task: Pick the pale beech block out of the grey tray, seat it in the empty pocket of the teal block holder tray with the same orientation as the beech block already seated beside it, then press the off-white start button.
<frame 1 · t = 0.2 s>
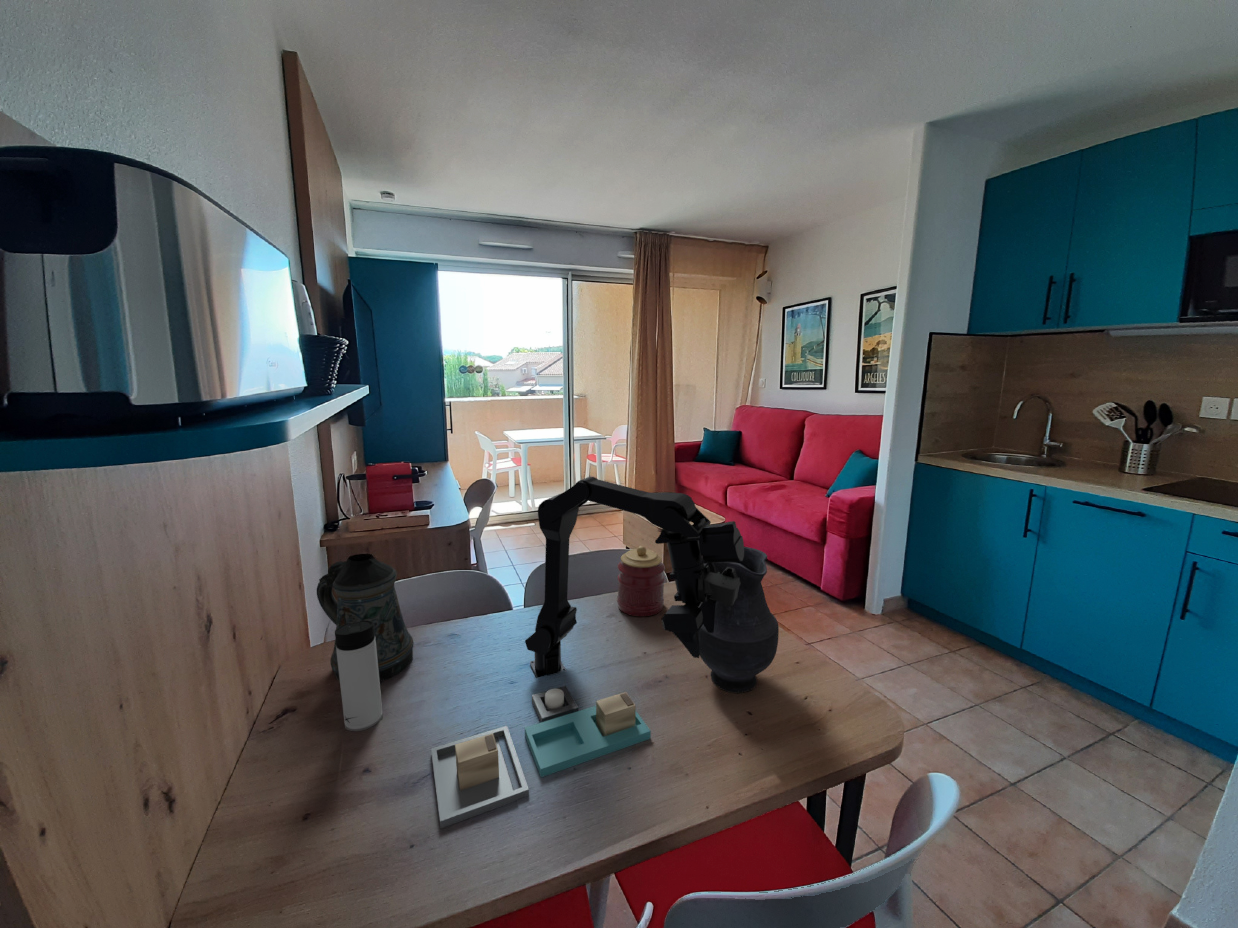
hand: (704, 644, 90), 15 cm above the table, tool pointing down, fingers open, 9 cm apart
teal block holder tray: (587, 741, 87), on the table
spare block: (477, 774, 79), point 1 cm above the table, touching grey tray
start button: (554, 700, 93), point 3 cm above the table, slide at 0.0 cm
button housing: (554, 712, 94), on the table
grey tray: (478, 778, 79), on the table
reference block: (615, 727, 89), point 1 cm above the table, touching teal block holder tray
pitcher: (727, 674, 106), on the table
travel mug: (364, 723, 91), on the table
canister: (640, 606, 136), on the table
beer stein: (367, 665, 108), on the table
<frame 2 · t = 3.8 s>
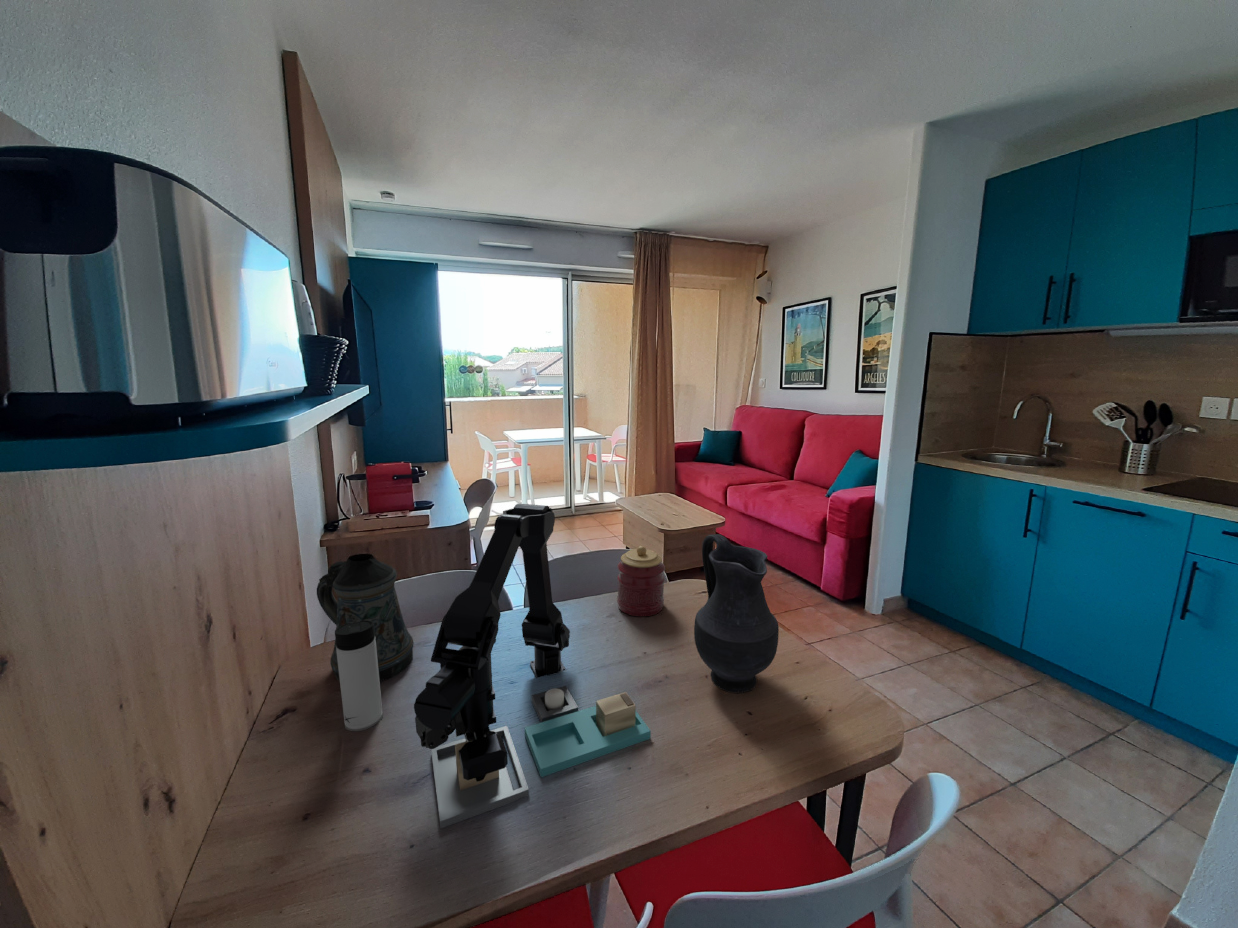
hand: (477, 769, 78), 2 cm above the table, tool pointing down, fingers closed on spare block, 4 cm apart
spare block: (477, 774, 79), point 1 cm above the table, touching gripper, grey tray
everything else where it was.
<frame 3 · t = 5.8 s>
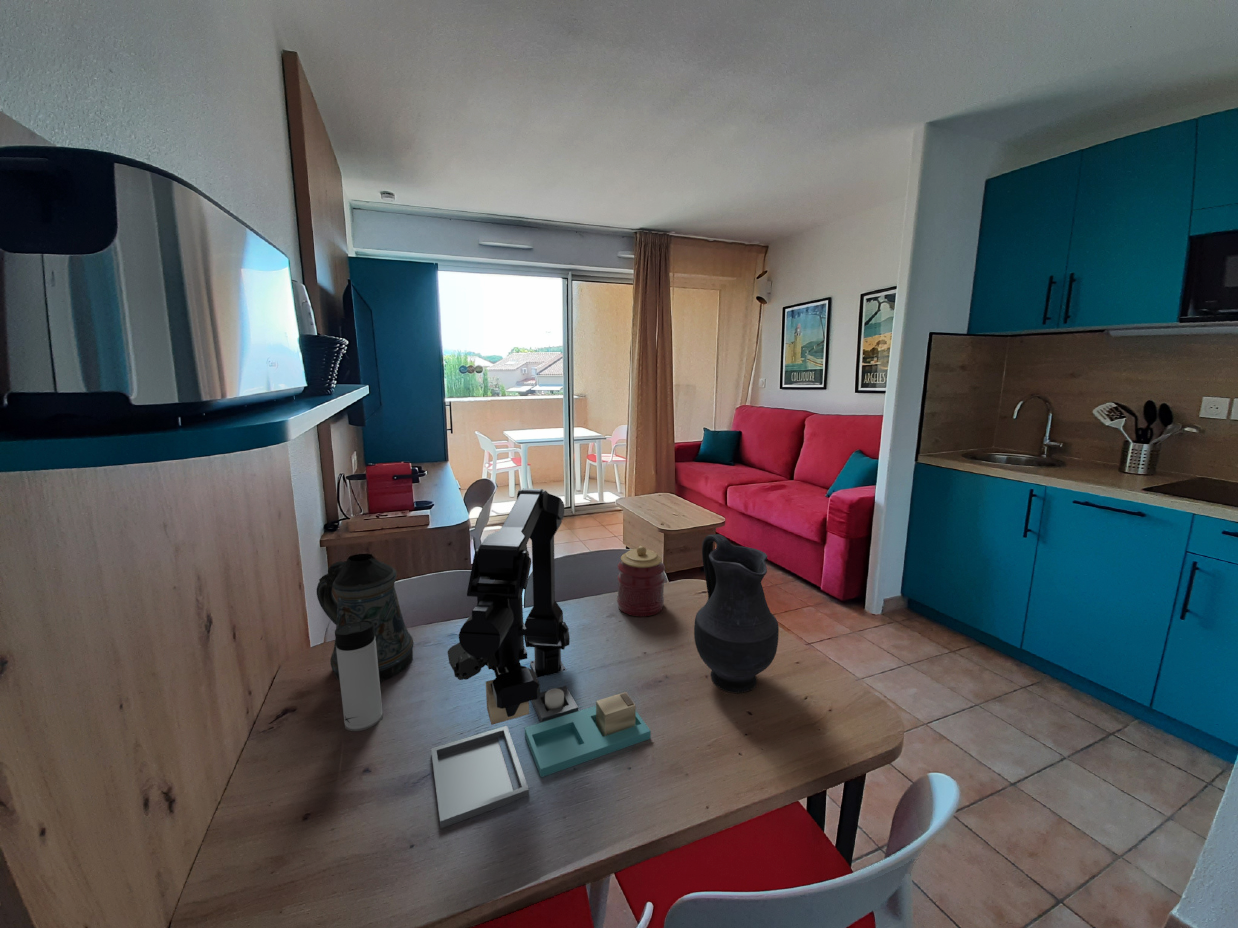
hand: (508, 706, 79), 11 cm above the table, tool pointing down, fingers closed on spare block, 4 cm apart
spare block: (507, 711, 79), point 10 cm above the table, touching gripper
everything else where it was.
when the fingers open (4 cm above the table, at t = 8.1 s): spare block drops 2 cm, resting on teal block holder tray.
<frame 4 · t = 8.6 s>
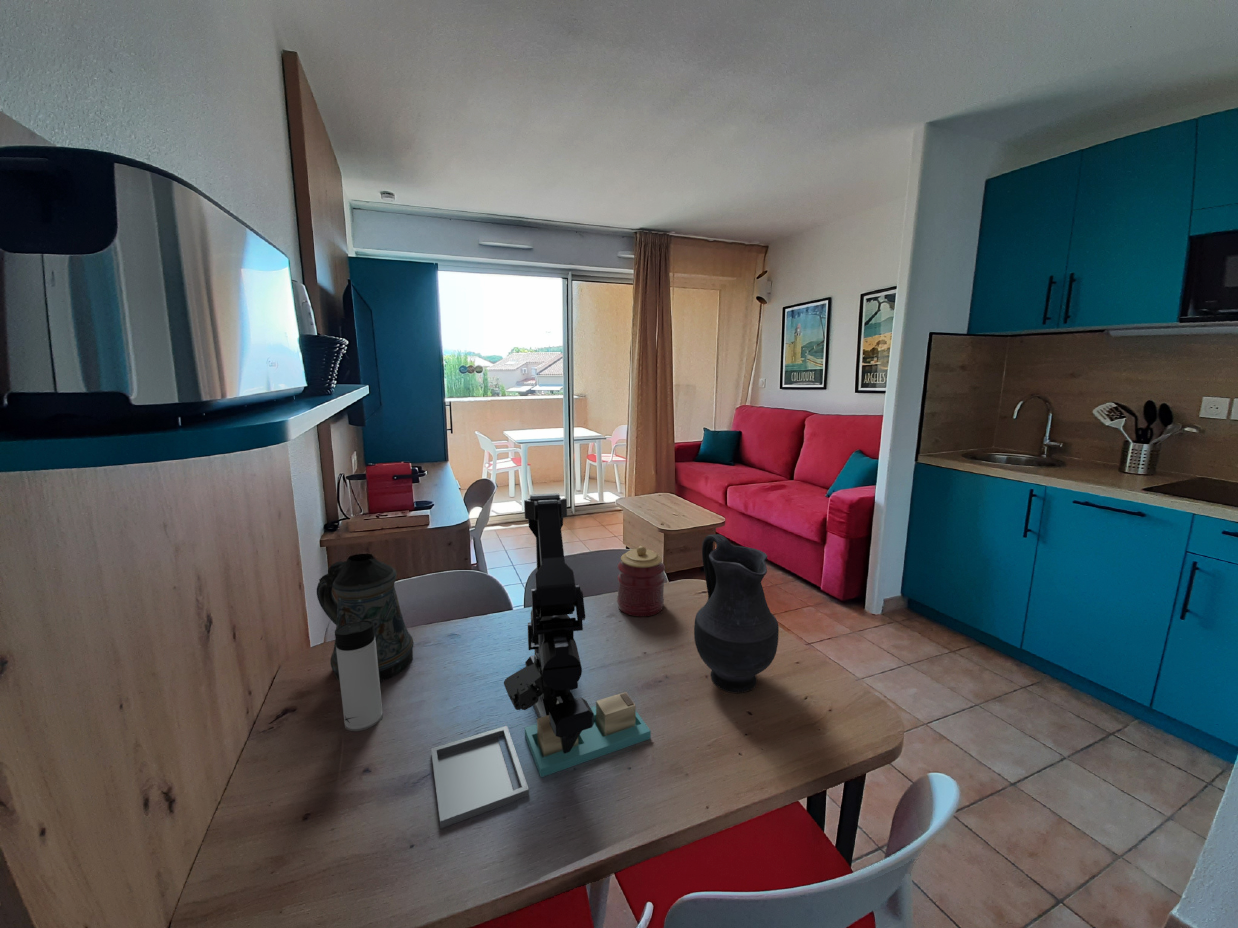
hand: (557, 733, 84), 4 cm above the table, tool pointing down, fingers open, 9 cm apart
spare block: (557, 746, 84), point 1 cm above the table, touching teal block holder tray
everything else where it was.
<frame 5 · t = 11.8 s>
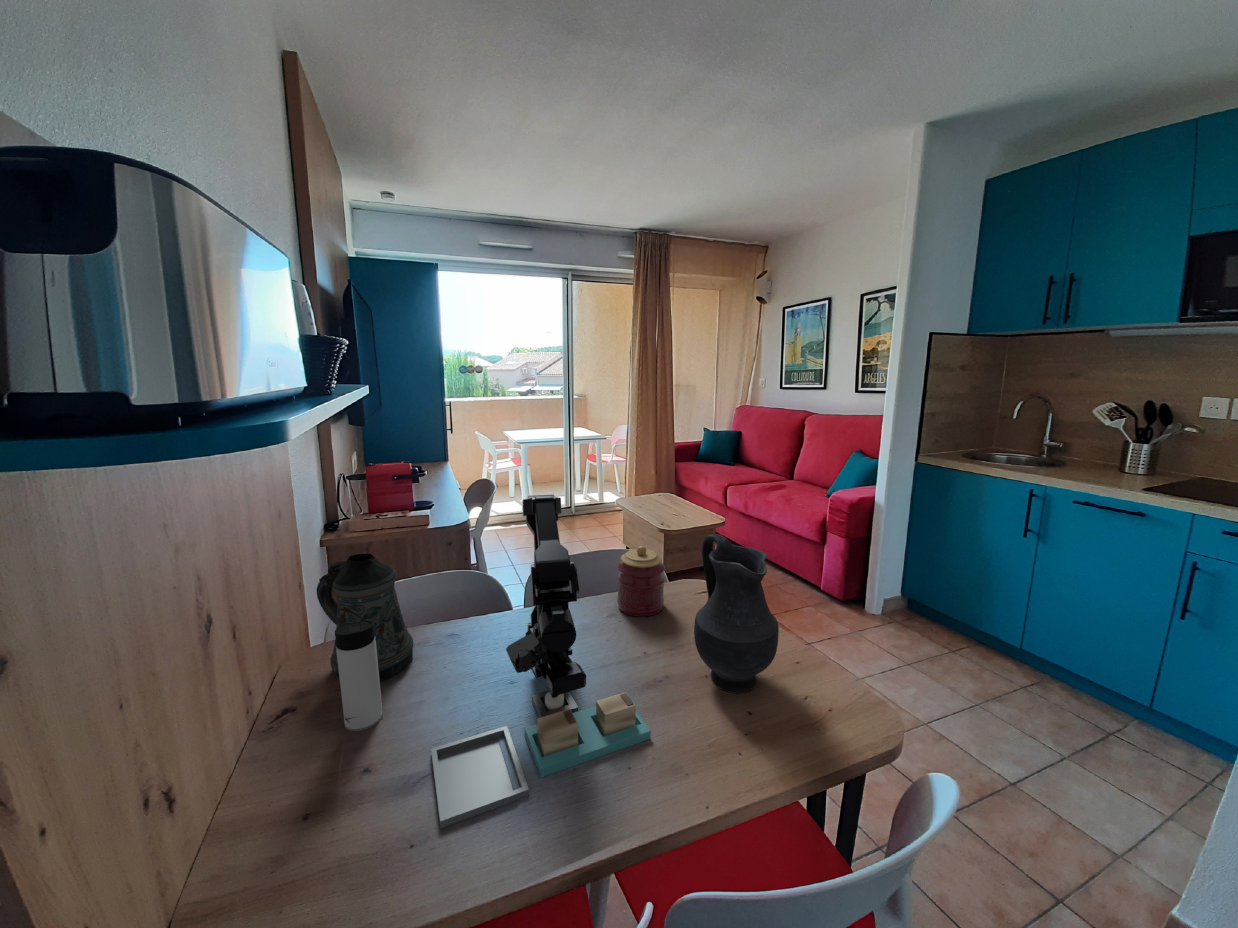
hand: (554, 696, 93), 3 cm above the table, tool pointing down, fingers closed, pressing on start button
start button: (554, 701, 94), point 2 cm above the table, slide at 0.4 cm, touching gripper
everything else where it was.
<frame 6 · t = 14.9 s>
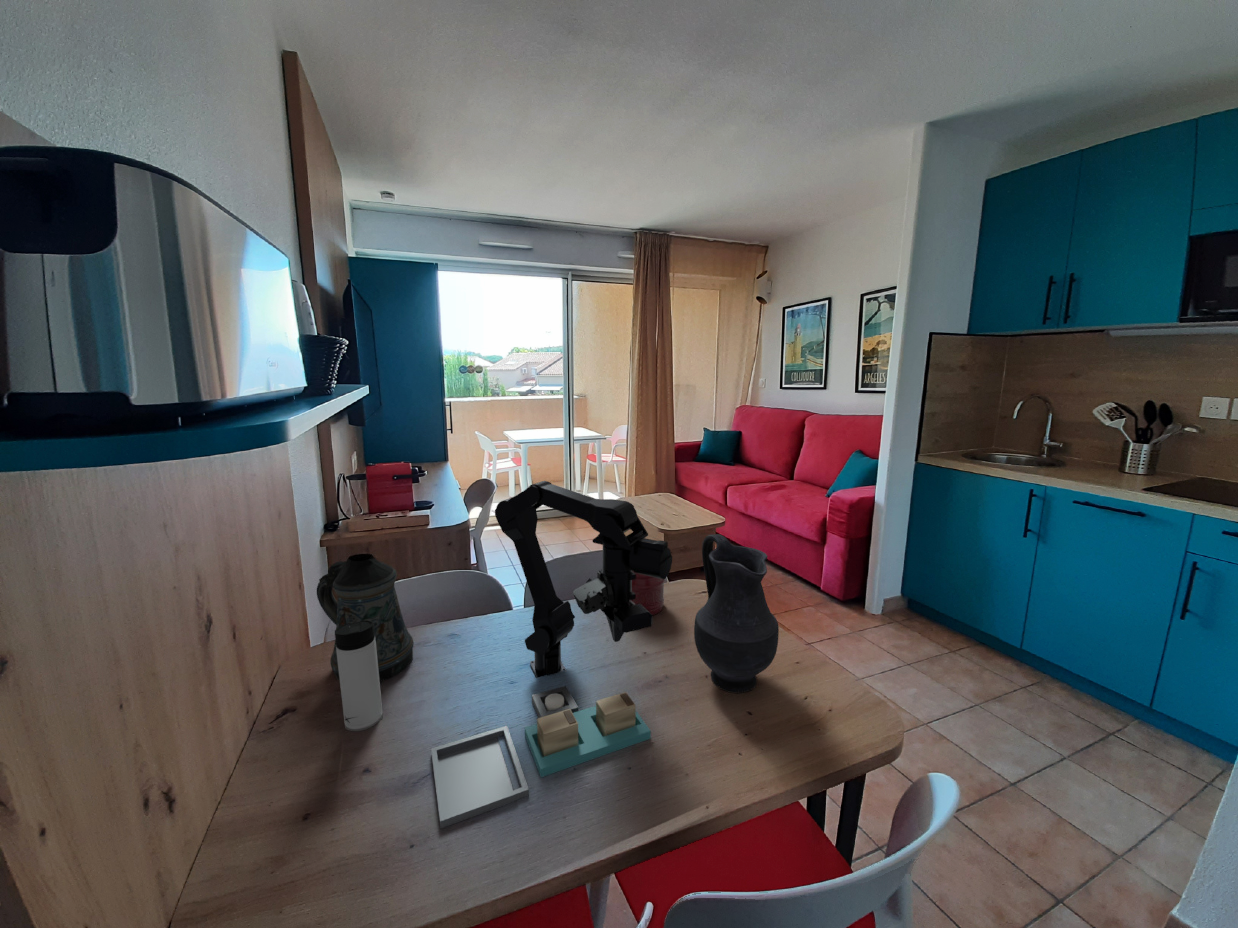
hand: (616, 640, 97), 12 cm above the table, tool pointing down, fingers closed
start button: (554, 704, 94), point 2 cm above the table, slide at 1.1 cm
everything else where it was.
at the end: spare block 0.0 cm from the target spot on the teal block holder tray, point 1.0 cm above the teal block holder tray's base; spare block tilted 0°; start button slide at 1.1 cm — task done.
